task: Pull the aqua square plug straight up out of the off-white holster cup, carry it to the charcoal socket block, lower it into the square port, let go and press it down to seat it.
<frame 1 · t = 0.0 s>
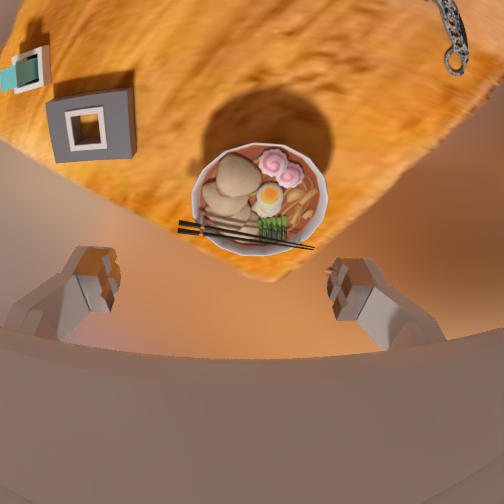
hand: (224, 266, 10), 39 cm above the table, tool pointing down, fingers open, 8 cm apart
plug: (22, 73, 27), in the holster
knife: (432, 8, 26), on the table
ramen bowl: (257, 183, 52), on the table
socket block: (93, 123, 40), on the table
holster: (34, 68, 30), on the table
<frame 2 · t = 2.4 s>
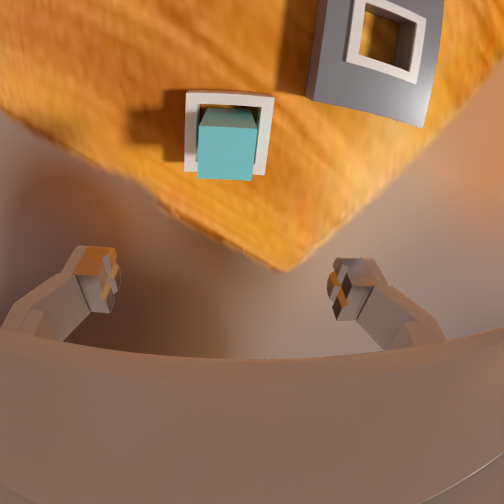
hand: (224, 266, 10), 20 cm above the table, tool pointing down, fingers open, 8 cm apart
plug: (226, 138, 23), in the holster
socket block: (373, 37, 20), on the table
holster: (227, 128, 26), on the table
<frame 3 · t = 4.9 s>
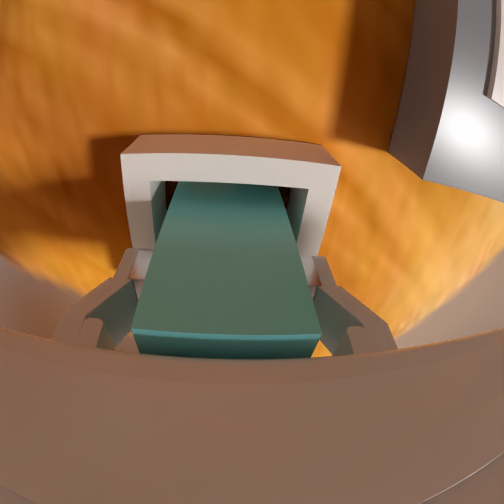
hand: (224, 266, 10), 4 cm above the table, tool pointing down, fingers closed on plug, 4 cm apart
plug: (224, 274, 10), in the holster, touching gripper
socket block: (498, 50, 7), on the table
holster: (226, 215, 13), on the table
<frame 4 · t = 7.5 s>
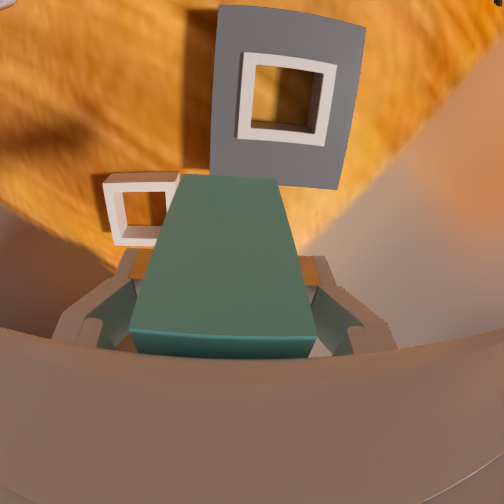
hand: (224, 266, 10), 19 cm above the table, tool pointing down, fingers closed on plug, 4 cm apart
plug: (224, 275, 10), point 19 cm above the table, touching gripper
socket block: (280, 95, 23), on the table
holster: (147, 204, 29), on the table
when the fingers open (5 cm above the table, at t = 10.5 s): plug moves 1 cm, resting in socket block.
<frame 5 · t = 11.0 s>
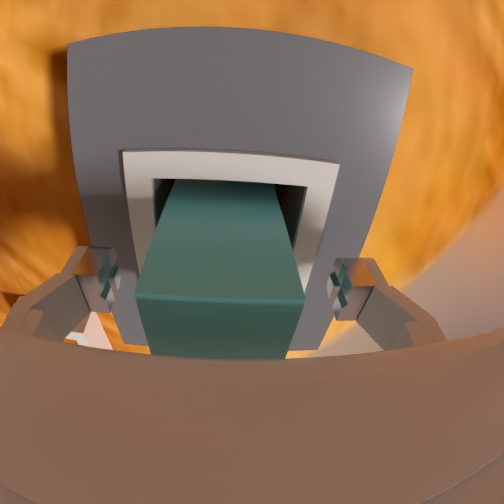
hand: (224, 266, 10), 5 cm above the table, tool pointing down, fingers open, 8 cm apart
plug: (220, 256, 11), in the socket block
socket block: (226, 204, 14), on the table
holster: (69, 330, 20), on the table
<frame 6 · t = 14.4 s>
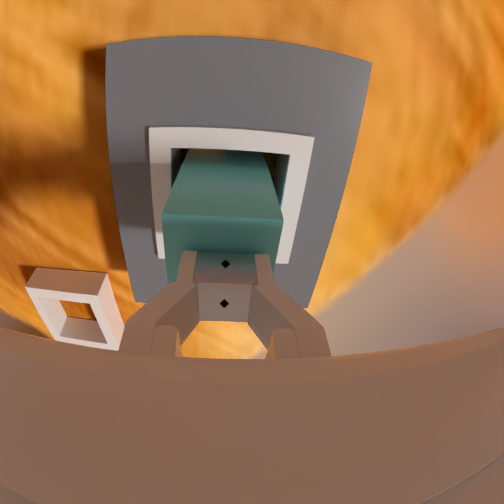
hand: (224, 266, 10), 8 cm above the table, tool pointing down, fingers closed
plug: (222, 209, 14), in the socket block
socket block: (227, 176, 17), on the table
holster: (81, 300, 23), on the table
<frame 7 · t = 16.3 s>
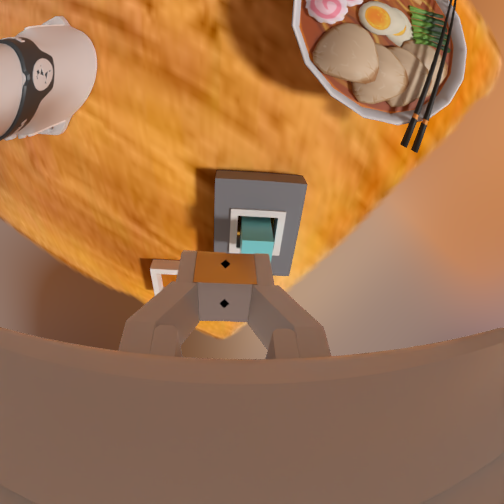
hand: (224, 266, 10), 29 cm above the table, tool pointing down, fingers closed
plug: (255, 236, 40), in the socket block
ramen bowl: (367, 35, 27), on the table
socket block: (255, 221, 43), on the table
holster: (176, 276, 50), on the table
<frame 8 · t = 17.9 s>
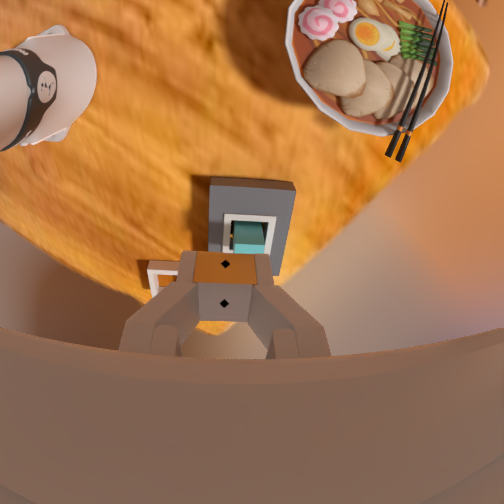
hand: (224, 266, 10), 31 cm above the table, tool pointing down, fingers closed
plug: (247, 239, 43), in the socket block
ramen bowl: (356, 48, 29), on the table
socket block: (247, 224, 46), on the table
holster: (171, 276, 52), on the table
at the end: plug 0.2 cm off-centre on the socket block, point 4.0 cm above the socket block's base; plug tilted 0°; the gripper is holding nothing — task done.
